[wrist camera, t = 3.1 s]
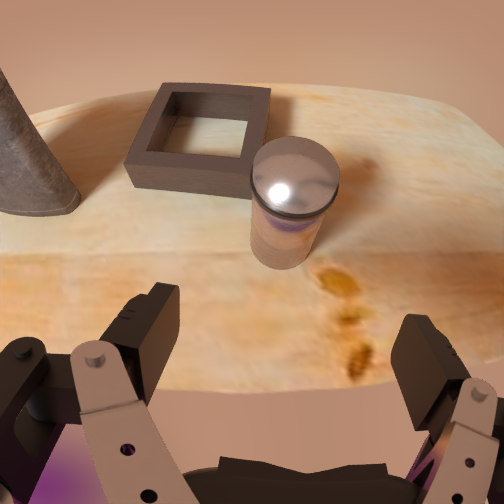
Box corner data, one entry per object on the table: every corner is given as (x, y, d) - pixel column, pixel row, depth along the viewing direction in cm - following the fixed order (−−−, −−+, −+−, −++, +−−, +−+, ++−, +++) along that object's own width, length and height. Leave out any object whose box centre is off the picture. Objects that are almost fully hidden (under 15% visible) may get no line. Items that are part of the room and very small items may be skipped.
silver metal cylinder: (313, 218, 27) (341, 142, 18) (309, 275, 25) (342, 214, 16) (253, 209, 27) (256, 129, 18) (244, 266, 25) (243, 200, 16)
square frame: (269, 113, 32) (271, 88, 29) (255, 200, 27) (256, 175, 24) (168, 106, 32) (162, 82, 29) (134, 187, 28) (123, 164, 25)
